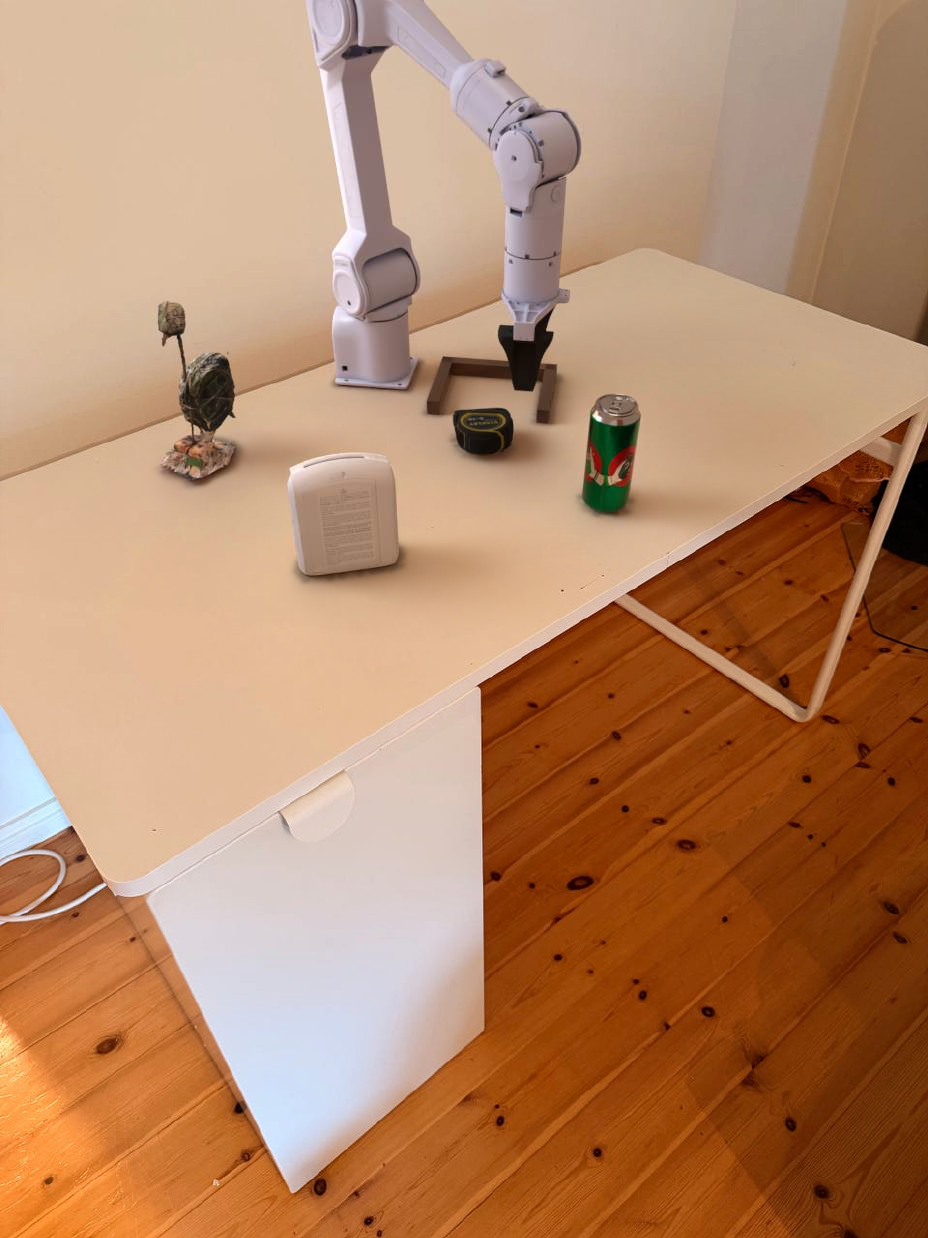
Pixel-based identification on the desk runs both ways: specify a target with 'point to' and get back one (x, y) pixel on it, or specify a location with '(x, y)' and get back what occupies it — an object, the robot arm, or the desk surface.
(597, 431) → the soda can
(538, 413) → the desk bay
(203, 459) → the plant with pod
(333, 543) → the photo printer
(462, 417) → the tape measure
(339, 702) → the desk surface
